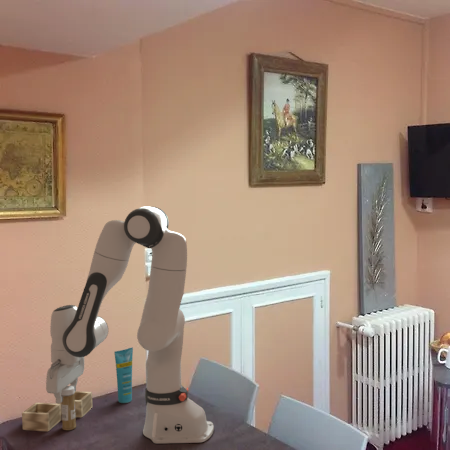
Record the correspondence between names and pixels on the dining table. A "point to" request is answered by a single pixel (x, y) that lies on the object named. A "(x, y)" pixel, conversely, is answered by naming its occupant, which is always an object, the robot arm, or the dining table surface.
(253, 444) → the dining table surface
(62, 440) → the dining table surface
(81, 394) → the open wooden box
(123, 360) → the tube
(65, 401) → the sprinkles bottle
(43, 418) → the open square wooden box
